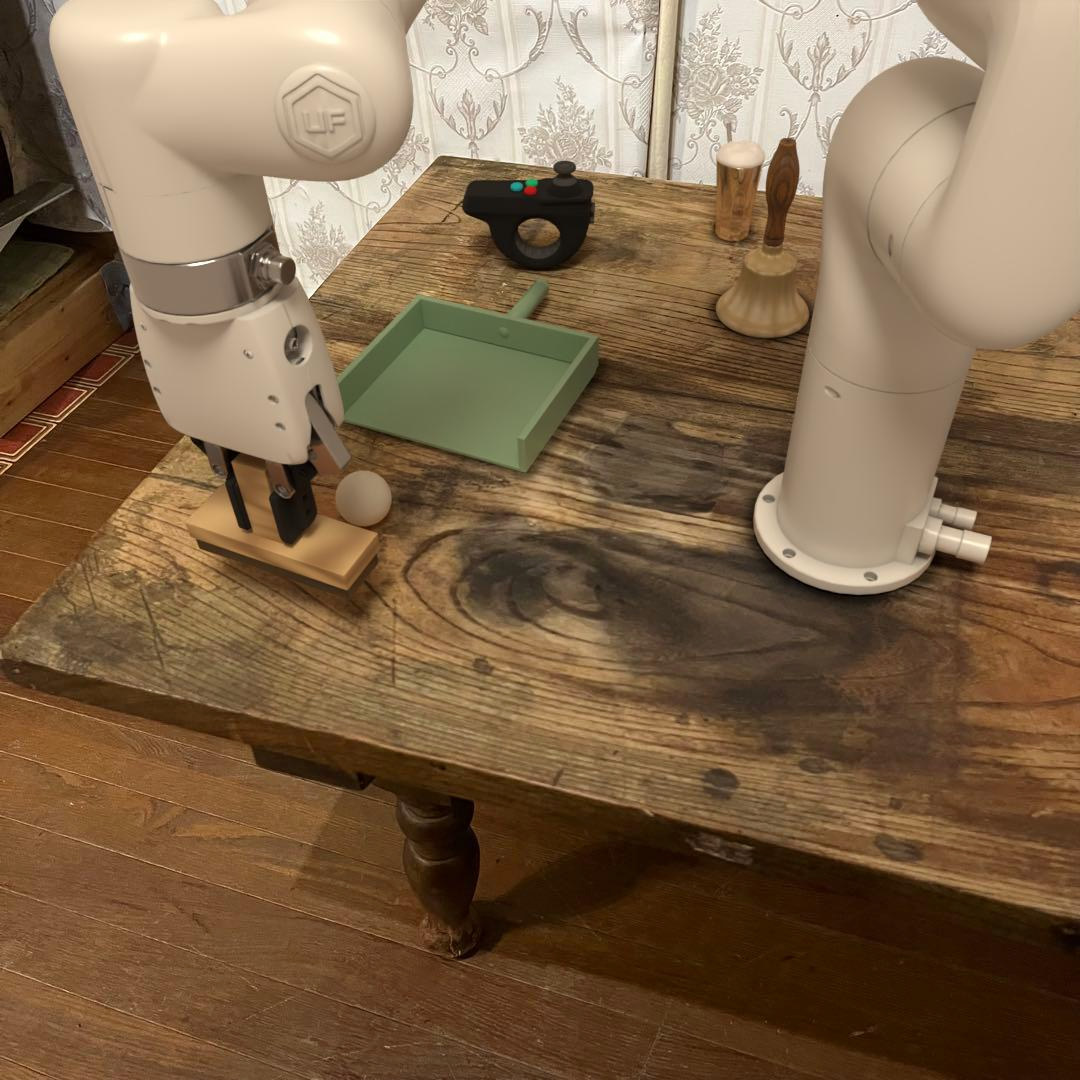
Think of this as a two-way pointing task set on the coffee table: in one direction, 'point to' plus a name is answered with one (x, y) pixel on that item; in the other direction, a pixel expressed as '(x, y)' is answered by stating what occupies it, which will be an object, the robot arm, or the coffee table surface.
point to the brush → (313, 559)
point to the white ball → (363, 498)
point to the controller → (534, 213)
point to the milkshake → (736, 186)
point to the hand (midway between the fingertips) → (278, 520)
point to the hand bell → (769, 264)
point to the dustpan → (470, 379)
